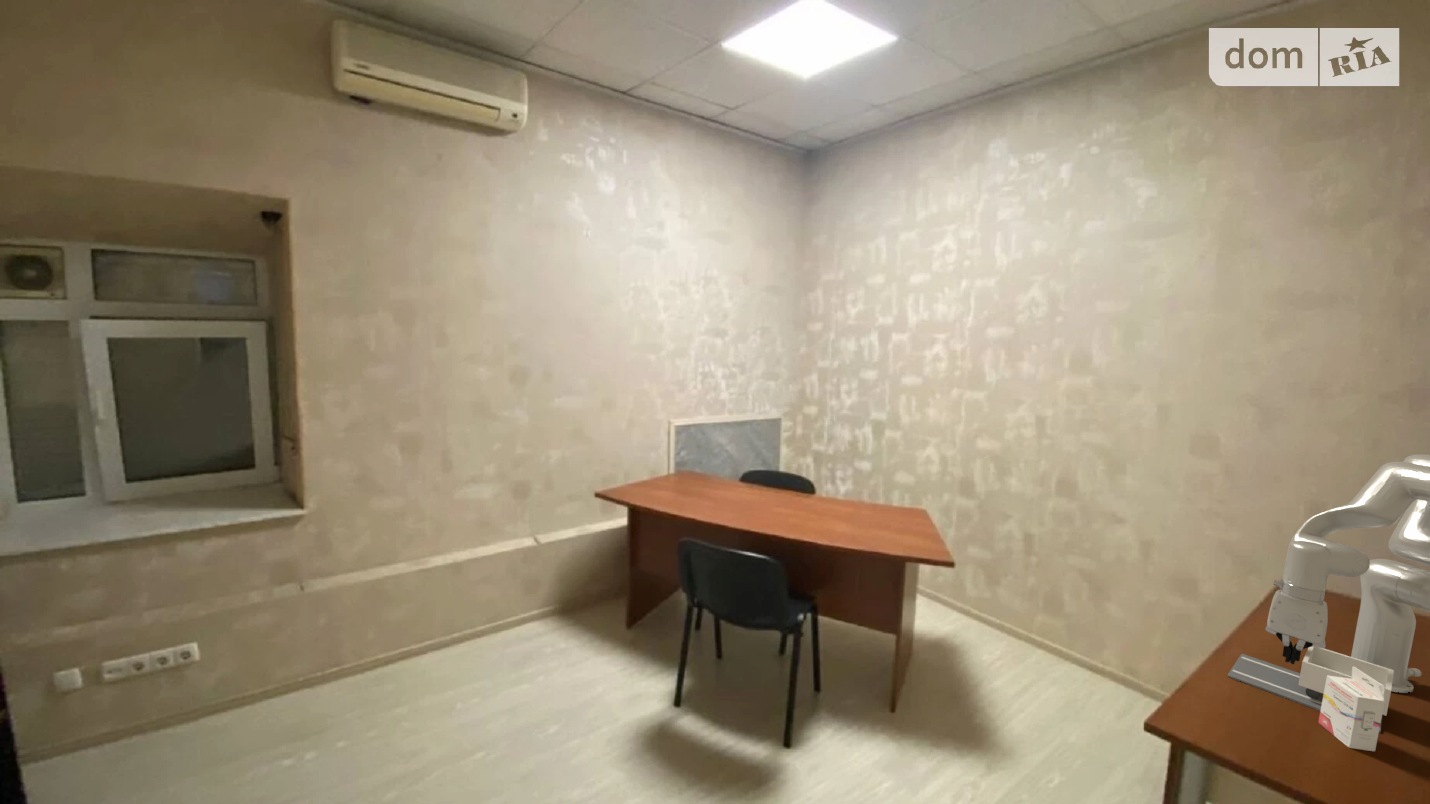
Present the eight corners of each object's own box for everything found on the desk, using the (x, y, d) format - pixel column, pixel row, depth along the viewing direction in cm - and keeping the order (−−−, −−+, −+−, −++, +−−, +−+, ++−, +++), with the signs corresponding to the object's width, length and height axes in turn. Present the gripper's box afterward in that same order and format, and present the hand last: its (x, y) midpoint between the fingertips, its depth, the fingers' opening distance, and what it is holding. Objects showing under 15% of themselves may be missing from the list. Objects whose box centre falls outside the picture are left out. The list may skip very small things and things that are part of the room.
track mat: (1241, 655, 160) (1241, 652, 160) (1384, 704, 140) (1384, 701, 140) (1226, 676, 149) (1227, 673, 149) (1380, 733, 129) (1380, 730, 129)
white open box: (1304, 675, 149) (1310, 644, 148) (1387, 703, 139) (1393, 670, 138) (1296, 694, 140) (1302, 661, 140) (1384, 725, 130) (1391, 690, 129)
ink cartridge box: (1316, 722, 132) (1327, 661, 130) (1342, 726, 131) (1353, 664, 129) (1348, 748, 123) (1360, 683, 122) (1376, 753, 122) (1389, 687, 121)
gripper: (1258, 584, 148) (1247, 652, 150) (1345, 607, 136) (1331, 681, 138) (1264, 577, 152) (1253, 644, 154) (1347, 599, 141) (1334, 670, 143)
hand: (1290, 661), depth 146 cm, fingers closed
